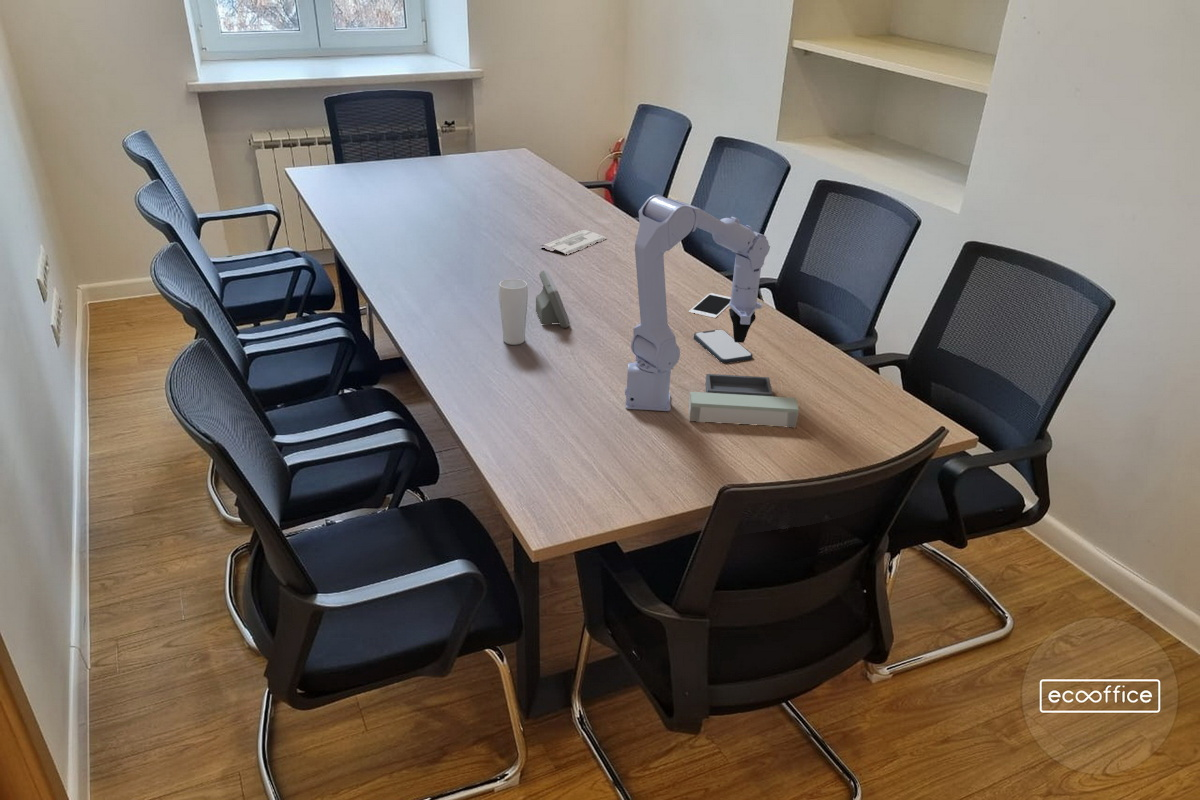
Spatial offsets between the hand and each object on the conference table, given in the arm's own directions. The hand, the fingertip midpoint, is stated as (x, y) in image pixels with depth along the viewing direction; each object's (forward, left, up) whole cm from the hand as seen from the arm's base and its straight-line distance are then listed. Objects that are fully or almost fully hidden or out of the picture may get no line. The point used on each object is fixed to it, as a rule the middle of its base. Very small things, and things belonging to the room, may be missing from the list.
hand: (738, 341), depth 197 cm
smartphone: (-2, +15, -9) cm, 18 cm away
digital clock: (-45, +28, -9) cm, 54 cm away
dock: (0, -19, -9) cm, 21 cm away
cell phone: (-3, +42, -9) cm, 43 cm away
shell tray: (0, -9, -9) cm, 13 cm away
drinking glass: (-53, +12, -9) cm, 55 cm away
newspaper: (-46, +88, -10) cm, 100 cm away
